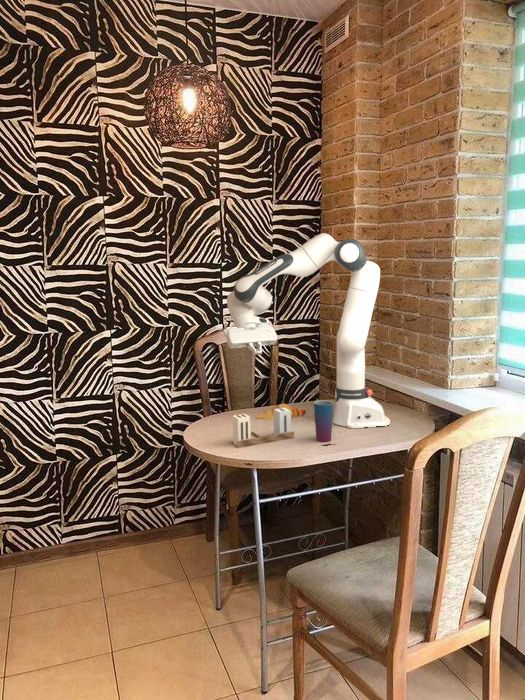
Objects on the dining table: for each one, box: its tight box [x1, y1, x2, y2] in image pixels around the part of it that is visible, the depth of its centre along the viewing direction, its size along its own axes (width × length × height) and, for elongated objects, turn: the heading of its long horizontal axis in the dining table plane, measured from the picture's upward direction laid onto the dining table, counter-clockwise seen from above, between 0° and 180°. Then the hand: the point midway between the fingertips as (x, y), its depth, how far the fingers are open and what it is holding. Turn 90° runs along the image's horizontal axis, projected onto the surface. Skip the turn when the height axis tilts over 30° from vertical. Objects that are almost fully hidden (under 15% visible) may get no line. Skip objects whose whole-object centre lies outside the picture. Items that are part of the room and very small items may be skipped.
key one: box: [273, 408, 292, 435], centre depth 200 cm, size 4×5×10 cm
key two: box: [232, 413, 252, 446], centre depth 193 cm, size 4×5×10 cm
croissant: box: [255, 402, 307, 421], centre depth 228 cm, size 21×10×8 cm, turn 108°
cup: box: [313, 399, 334, 447], centre depth 196 cm, size 7×7×15 cm
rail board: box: [236, 431, 295, 449], centre depth 200 cm, size 22×12×4 cm, turn 117°
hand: (258, 353), depth 212 cm, fingers closed
